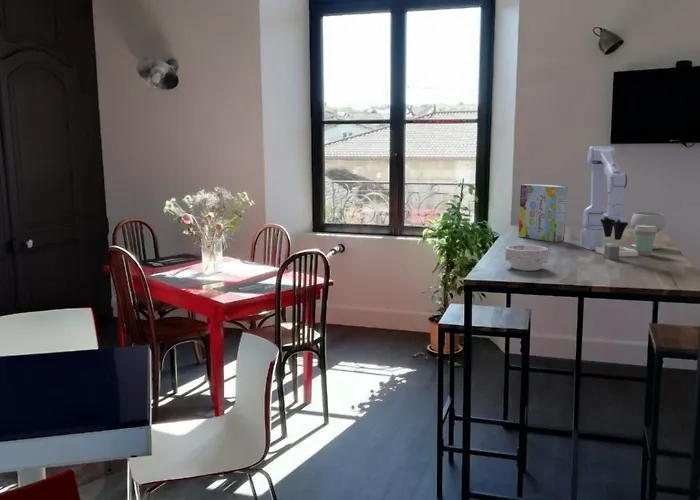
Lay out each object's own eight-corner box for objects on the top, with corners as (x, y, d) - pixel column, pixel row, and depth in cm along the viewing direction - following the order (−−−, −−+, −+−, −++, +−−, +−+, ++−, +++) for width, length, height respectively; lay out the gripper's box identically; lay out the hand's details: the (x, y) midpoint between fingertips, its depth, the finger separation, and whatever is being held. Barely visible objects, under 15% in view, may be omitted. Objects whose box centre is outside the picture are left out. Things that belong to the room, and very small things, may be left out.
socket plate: (595, 251, 275) (595, 246, 274) (622, 251, 276) (622, 246, 276) (610, 256, 263) (610, 251, 262) (637, 256, 264) (638, 250, 264)
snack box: (565, 241, 302) (569, 186, 297) (553, 243, 297) (556, 186, 293) (528, 235, 319) (531, 183, 315) (516, 237, 315) (519, 183, 310)
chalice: (625, 244, 294) (628, 211, 292) (658, 245, 292) (661, 212, 289) (632, 249, 281) (635, 215, 278) (667, 250, 278) (670, 215, 276)
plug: (603, 258, 260) (604, 243, 259) (613, 257, 260) (614, 243, 259) (609, 259, 256) (610, 244, 255) (618, 259, 256) (619, 244, 255)
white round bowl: (515, 263, 248) (516, 242, 247) (554, 268, 238) (555, 247, 237) (497, 269, 236) (498, 247, 235) (537, 274, 227) (538, 252, 226)
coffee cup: (657, 256, 263) (659, 227, 261) (634, 255, 265) (637, 226, 263) (651, 253, 271) (654, 224, 269) (630, 252, 273) (632, 224, 271)
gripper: (596, 202, 261) (594, 235, 263) (615, 205, 247) (612, 241, 249) (613, 202, 262) (610, 235, 264) (632, 205, 248) (629, 240, 250)
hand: (612, 238), depth 257 cm, fingers open, 7 cm apart
